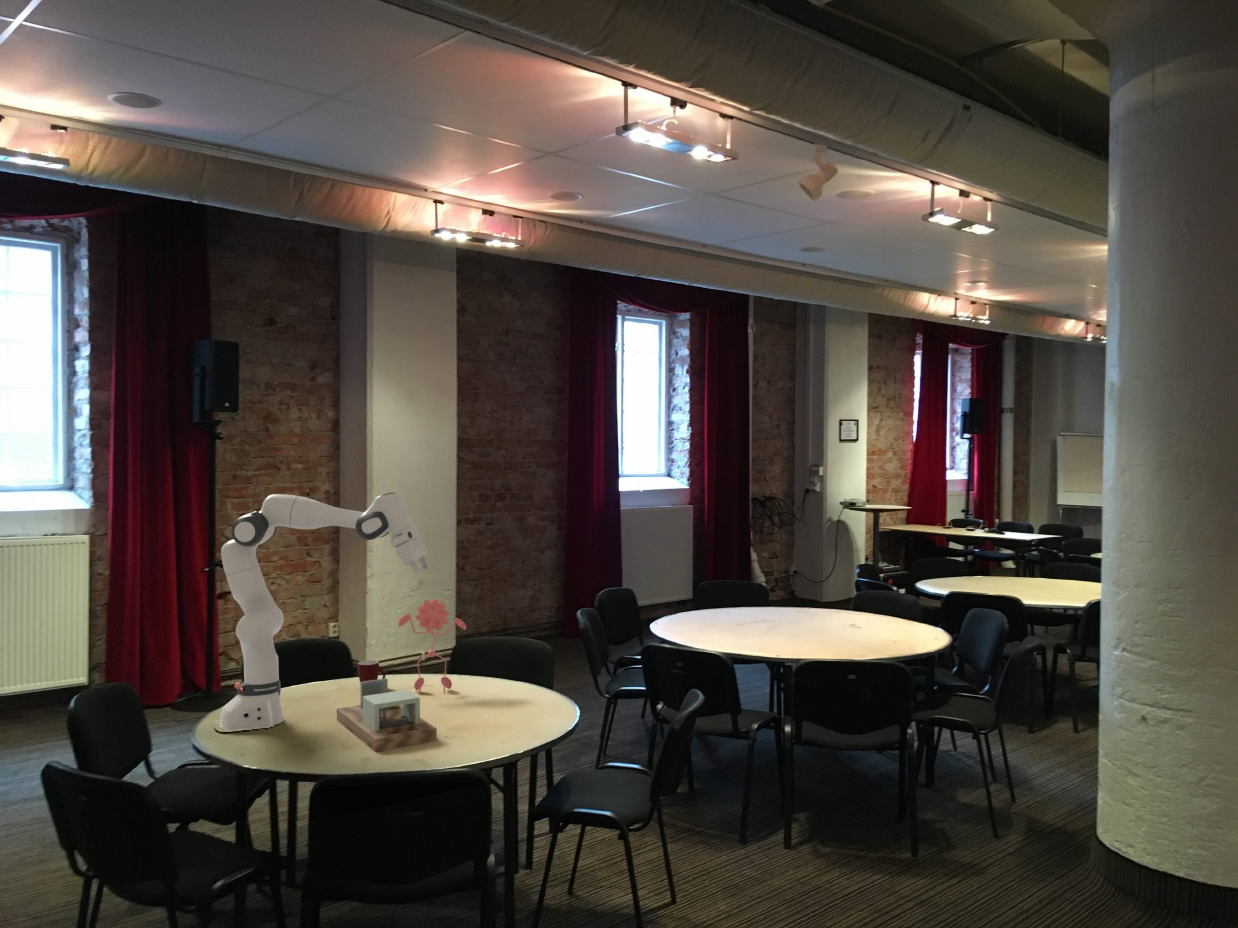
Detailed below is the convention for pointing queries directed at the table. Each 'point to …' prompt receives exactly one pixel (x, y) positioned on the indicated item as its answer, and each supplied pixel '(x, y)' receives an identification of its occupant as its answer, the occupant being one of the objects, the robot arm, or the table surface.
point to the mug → (369, 670)
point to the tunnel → (388, 700)
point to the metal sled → (378, 688)
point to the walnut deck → (386, 731)
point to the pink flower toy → (432, 618)
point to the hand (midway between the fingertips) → (423, 571)
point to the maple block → (390, 713)
